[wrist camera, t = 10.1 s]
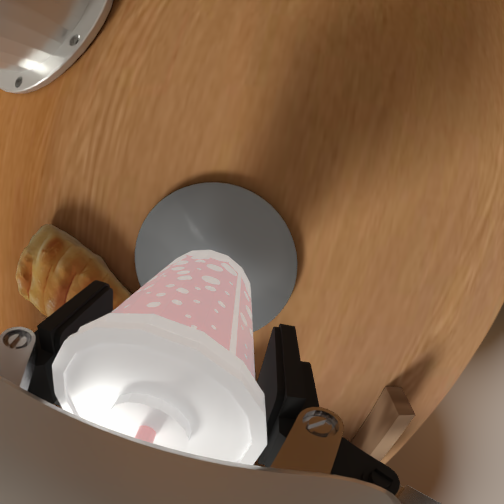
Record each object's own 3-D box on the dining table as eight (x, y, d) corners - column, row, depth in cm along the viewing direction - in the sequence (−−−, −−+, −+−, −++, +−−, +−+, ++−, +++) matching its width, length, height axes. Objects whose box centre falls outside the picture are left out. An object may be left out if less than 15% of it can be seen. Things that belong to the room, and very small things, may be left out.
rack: (230, 367, 21) (215, 468, 12) (401, 387, 21) (440, 467, 13) (207, 467, 25) (195, 538, 16) (337, 478, 25) (348, 543, 17)
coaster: (148, 169, 17) (145, 169, 17) (314, 202, 17) (315, 203, 17) (134, 314, 20) (131, 318, 19) (274, 346, 20) (274, 351, 20)
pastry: (155, 277, 19) (133, 302, 16) (127, 347, 21) (108, 377, 18) (49, 215, 18) (16, 227, 15) (35, 288, 20) (7, 308, 17)
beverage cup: (127, 279, 15) (-62, 483, 2) (214, 207, 14) (-55, 486, 1) (201, 361, 16) (131, 603, 3) (291, 305, 15) (333, 616, 2)
